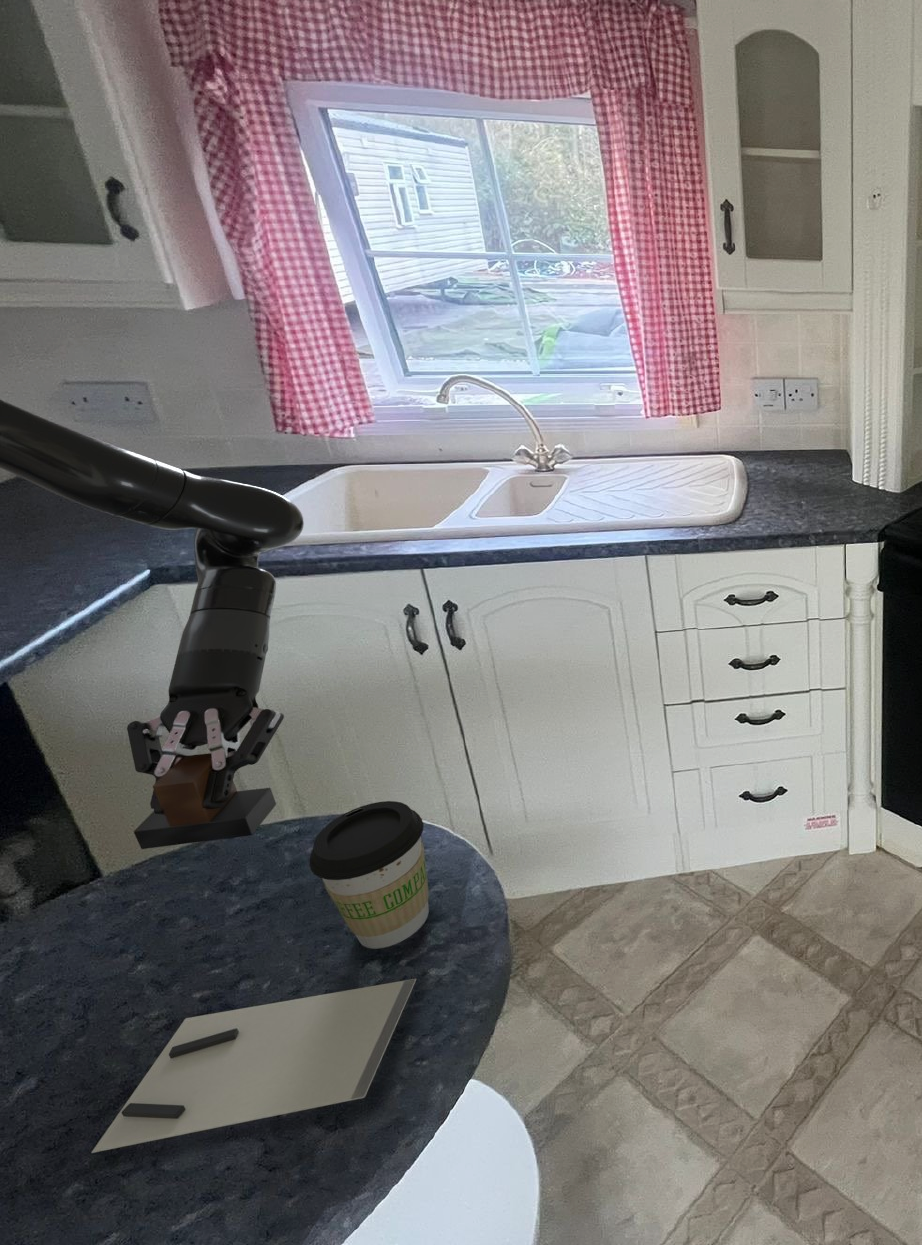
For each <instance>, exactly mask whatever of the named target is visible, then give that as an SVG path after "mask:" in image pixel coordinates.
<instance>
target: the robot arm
mask: <svg viewBox="0 0 922 1245" xmlns="http://www.w3.org/2000/svg"><path fill="white" fill-rule="evenodd" d="M0 469H3V470H4V471H6V472H9V473H11V474H14V475H15V476H18V477H20V478H22V479H23V480H25V481H28V482H30V483H32V484H34V485H36V486H38V487H40V488H43V489H45V490H47V491H49V492H51V493H54V494H55V495H57V496H60V497H62V498H65V499H67V500H69V501H71V502H75V503H77V504H79V505H82V506H85V507H87V508H89V509H93V510H96V511H99V512H101V513H105V514H108V515H110V516H114V517H118V518H121V519H124V520H127V521H131V522H135V523H138V524H142V525H146V526H148V527H152V528H157V529H161V530H168V531H171V530H172V531H178V530H187V529H188V530H189V529H195V530H194V531H195V532H194V534H193V535H194V536H193V547H194V548H193V551H194V563H195V570H196V571H195V572H196V575H197V586H196V589H195V592H194V596H193V599H192V604H191V608H190V613H189V616H188V618H187V622H186V624H185V626H184V628H183V630H182V633H181V637H180V641H179V646H178V649H177V652H176V658H175V661H174V665H173V670H172V674H171V678H170V681H169V686H168V690H167V691H168V703H167V705H166V706H165V707H164V708H163V709H162V710H161V712H160V715H158V716H155V717H153V718H149V719H148V720H145V721H140V720H133V721H131V722H130V723H128V725H127V726H126V731H127V736H128V741H129V746H130V751H131V754H132V760H133V765H134V769H135V771H136V772H137V773H141V774H146V775H151V776H153V777H154V778H155V781H154V784H155V783H156V782H157V781H158V780H159V779H160V778H161V777H162V776H163V775H164V774H166V773H167V772H168V771H169V770H170V769H171V768H172V767H173V766H174V765H175V764H176V763H177V762H178V761H179V760H180V759H181V758H182V757H183V756H189V755H197V753H198V751H199V749H200V747H201V746H204V745H207V748H208V751H210V753H211V756H212V768H213V769H214V771H213V772H209V775H208V780H207V784H206V789H205V794H204V798H203V803H202V807H203V808H206V809H217V808H221V807H222V806H223V803H224V802H227V800H228V799H229V797H230V793H231V787H232V783H233V781H234V778H235V774H236V772H237V771H238V770H239V769H241V768H244V767H246V766H249V765H250V766H252V765H255V764H257V763H258V762H259V760H260V759H261V757H262V756H263V754H264V752H265V751H266V750H267V747H268V746H269V745H270V742H271V740H272V739H273V737H274V735H275V734H276V732H277V730H278V729H279V727H280V725H281V724H282V722H283V720H284V718H285V715H284V713H282V712H280V711H277V710H274V709H270V708H260V707H259V704H258V702H257V698H256V697H257V695H258V694H259V692H260V687H261V682H262V677H263V673H264V667H265V662H266V656H267V653H268V651H269V642H270V626H271V625H270V624H271V617H272V613H273V606H274V602H275V597H276V592H277V581H276V578H275V577H274V575H273V574H272V573H271V572H270V571H267V570H266V569H264V568H260V567H259V559H260V555H261V553H264V552H268V551H272V550H274V549H278V548H281V547H284V546H287V545H288V544H290V543H292V542H294V541H295V540H296V539H297V538H298V537H299V536H300V535H301V533H302V531H303V529H304V526H305V521H304V516H303V513H302V511H300V509H299V508H298V506H297V505H295V503H293V501H291V500H290V499H289V498H287V497H285V496H283V495H281V493H278V492H275V491H274V490H273V491H272V490H270V489H267V488H263V487H260V486H255V485H251V484H246V483H242V482H236V481H232V480H227V479H222V478H215V477H209V476H203V475H197V474H195V473H191V472H189V471H187V470H184V469H181V468H179V467H176V466H175V465H171V464H168V463H165V462H163V461H160V460H157V459H154V458H151V457H148V456H145V455H143V454H140V453H137V452H134V451H131V450H128V449H126V448H123V447H120V446H117V445H114V444H112V443H109V442H106V441H104V440H101V439H98V438H96V437H94V436H90V435H88V434H85V433H83V432H80V431H77V430H74V429H72V428H71V427H70V428H69V427H67V426H65V425H62V424H60V423H58V422H54V421H52V420H49V419H47V418H45V417H43V416H40V415H37V414H35V413H33V412H31V411H29V410H27V409H24V408H21V407H19V406H16V405H15V404H12V403H11V402H8V401H6V400H3V399H2V398H0ZM248 723H249V724H250V728H249V730H248V731H247V733H246V735H245V736H244V738H243V739H242V741H241V730H242V729H243V728H244V727H246V725H247V724H248ZM164 728H165V729H166V730H167V732H168V733H169V735H168V736H167V738H166V740H165V742H164V744H163V746H162V744H161V740H160V738H162V737H163V736H164ZM149 805H150V809H152V810H153V811H154V813H155V814H163V815H165V814H164V812H163V810H162V807H161V805H160V803H159V800H158V798H157V796H156V793H155V791H154V789H153V790H152V795H151V798H150V802H149Z"/></svg>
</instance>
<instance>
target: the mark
mask: <svg viewBox="0 0 922 1245" xmlns="http://www.w3.org/2000/svg"><path fill="white" fill-rule="evenodd" d="M238 1033H239V1031H238V1029H237V1028H235V1029H232V1030H229V1031H225V1032H222V1033H218V1034H215V1035H212V1036H208V1037H205V1038H201V1039H198V1040H195V1041H191V1042H188V1043H184V1044H181V1045H177V1046H174V1047H172V1049H171V1051H170V1053H169V1056H170V1058H174V1057H178V1056H181V1055H184V1054H188V1053H191V1052H194V1051H198V1050H201V1049H205V1048H208V1047H211V1046H215V1045H218V1044H221V1043H225V1042H228V1041H231V1040H235V1039H236V1038H237V1035H238Z"/></svg>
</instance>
